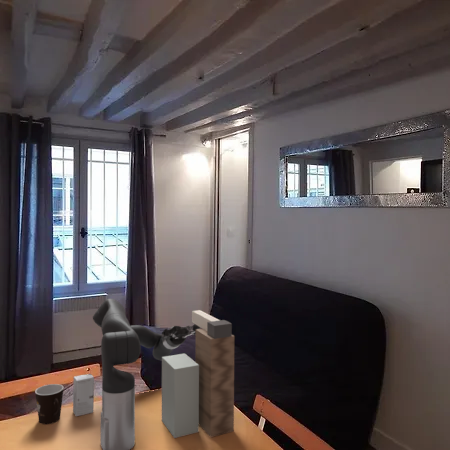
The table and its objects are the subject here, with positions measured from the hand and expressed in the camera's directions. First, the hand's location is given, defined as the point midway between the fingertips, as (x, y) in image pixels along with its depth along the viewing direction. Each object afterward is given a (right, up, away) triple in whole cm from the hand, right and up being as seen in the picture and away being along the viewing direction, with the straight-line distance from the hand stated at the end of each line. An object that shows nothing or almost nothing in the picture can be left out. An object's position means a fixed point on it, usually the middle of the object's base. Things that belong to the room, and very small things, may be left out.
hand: (187, 326), depth 152 cm
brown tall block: (+10, -27, -20) cm, 35 cm away
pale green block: (-1, -27, -20) cm, 34 cm away
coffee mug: (-43, -27, -18) cm, 54 cm away
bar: (+8, +3, -16) cm, 19 cm away
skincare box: (-34, -26, -11) cm, 45 cm away
